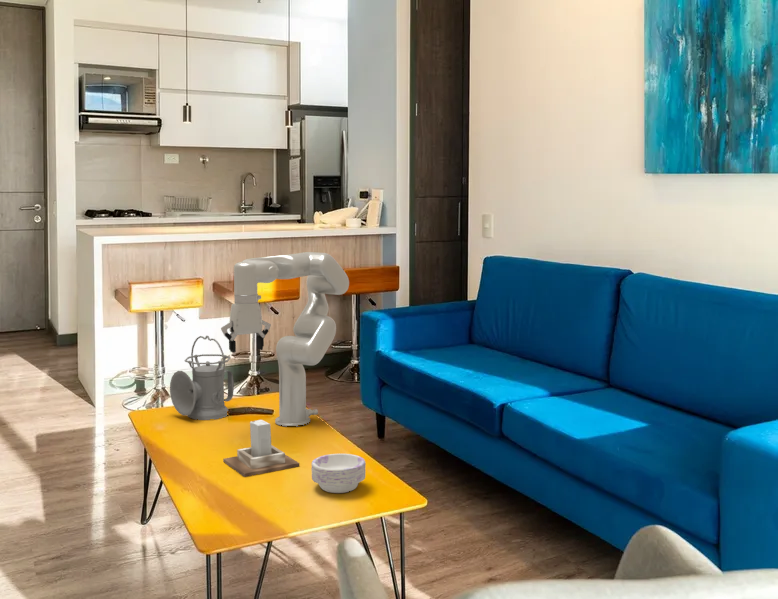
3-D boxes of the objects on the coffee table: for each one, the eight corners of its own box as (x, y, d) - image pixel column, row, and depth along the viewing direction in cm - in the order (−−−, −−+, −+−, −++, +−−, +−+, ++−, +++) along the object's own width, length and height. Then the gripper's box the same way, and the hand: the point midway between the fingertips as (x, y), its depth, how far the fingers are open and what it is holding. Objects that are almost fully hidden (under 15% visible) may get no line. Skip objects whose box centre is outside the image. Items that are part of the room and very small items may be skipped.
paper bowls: (314, 478, 238) (314, 451, 237) (366, 479, 237) (367, 452, 236) (308, 497, 222) (308, 469, 221) (363, 498, 222) (363, 470, 221)
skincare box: (272, 462, 248) (272, 423, 246) (259, 464, 245) (258, 425, 244) (263, 456, 253) (262, 418, 251) (250, 459, 250) (249, 421, 249)
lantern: (167, 414, 303) (165, 335, 299) (216, 404, 319) (214, 328, 315) (199, 426, 289) (197, 343, 285) (249, 414, 305) (248, 335, 301)
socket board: (276, 452, 261) (276, 440, 260) (299, 466, 247) (299, 453, 247) (223, 461, 251) (223, 449, 250) (244, 477, 238) (244, 463, 237)
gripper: (265, 296, 276) (265, 346, 278) (216, 300, 267) (217, 351, 269) (274, 299, 270) (275, 350, 272) (225, 302, 260) (226, 355, 263)
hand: (246, 350), depth 270 cm, fingers open, 9 cm apart
